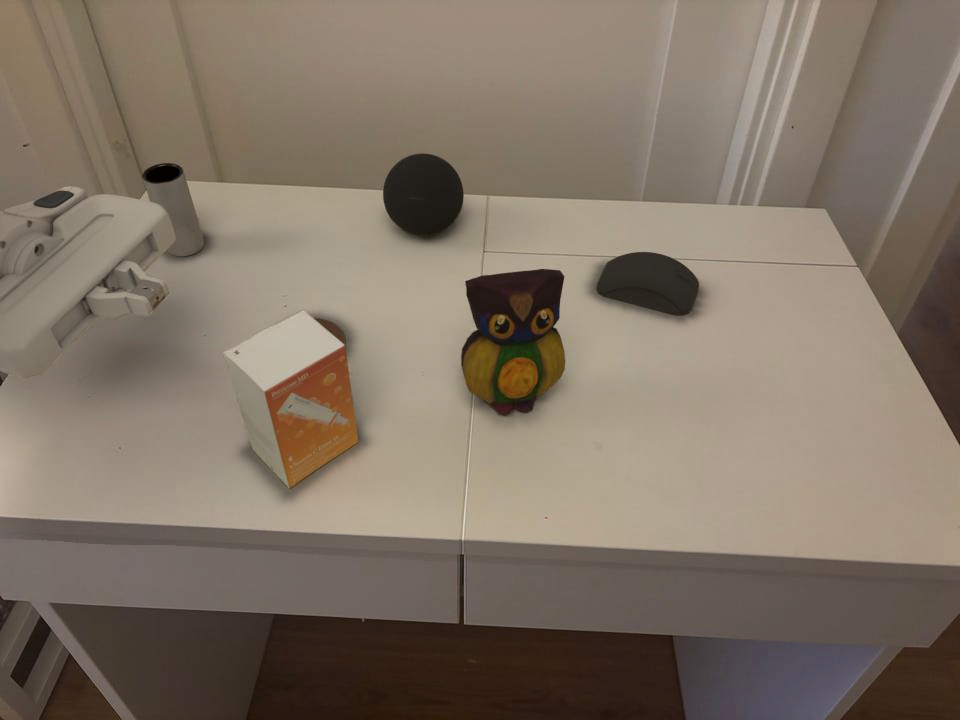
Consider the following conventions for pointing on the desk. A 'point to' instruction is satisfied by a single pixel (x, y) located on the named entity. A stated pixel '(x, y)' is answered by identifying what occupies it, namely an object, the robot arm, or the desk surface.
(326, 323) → the coaster
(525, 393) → the figurine
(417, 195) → the speaker
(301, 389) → the small box
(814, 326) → the desk surface
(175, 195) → the grey cylinder
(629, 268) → the computer mouse
